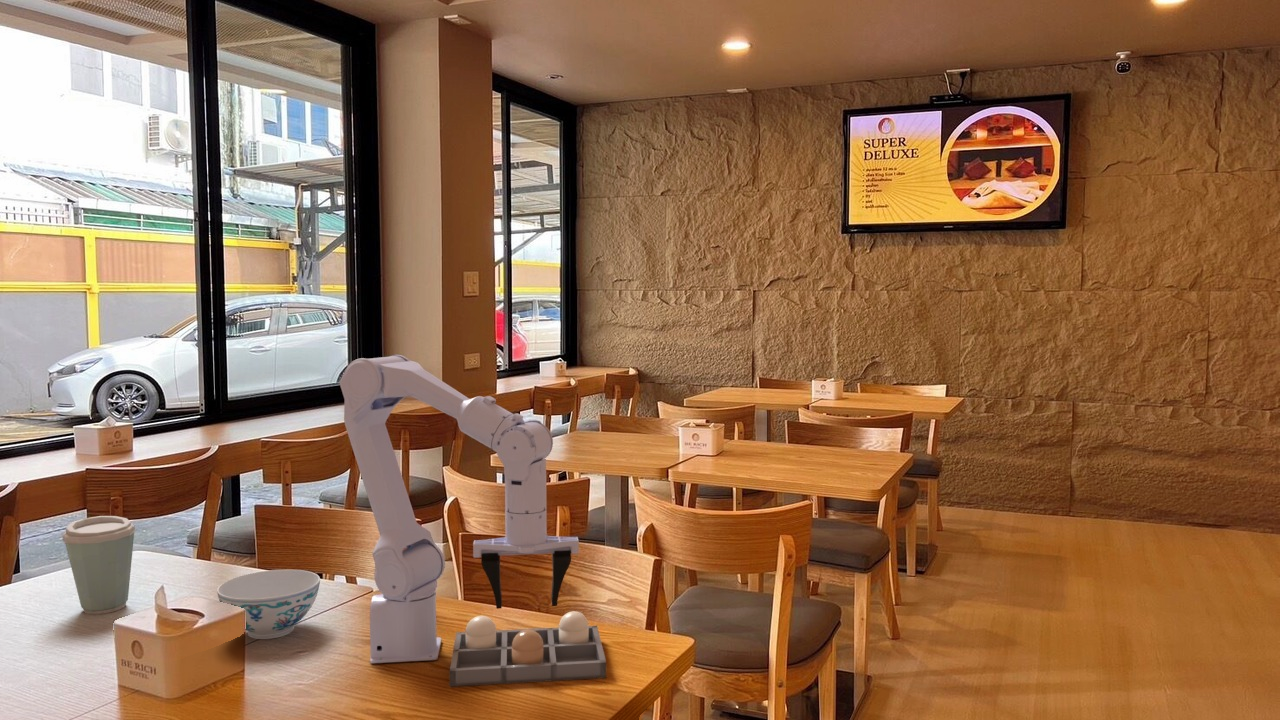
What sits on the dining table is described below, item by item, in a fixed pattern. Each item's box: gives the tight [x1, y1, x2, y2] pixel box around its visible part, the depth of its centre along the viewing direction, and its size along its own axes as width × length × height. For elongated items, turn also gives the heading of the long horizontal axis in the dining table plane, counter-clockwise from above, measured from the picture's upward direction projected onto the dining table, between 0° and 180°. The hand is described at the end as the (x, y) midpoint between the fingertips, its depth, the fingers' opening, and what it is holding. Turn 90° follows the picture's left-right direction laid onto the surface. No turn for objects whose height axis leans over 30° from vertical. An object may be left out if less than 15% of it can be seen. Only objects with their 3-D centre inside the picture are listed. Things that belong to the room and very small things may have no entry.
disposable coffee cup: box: [61, 515, 137, 615], centre depth 156 cm, size 11×11×15 cm
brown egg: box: [512, 630, 543, 665], centre depth 130 cm, size 4×4×5 cm
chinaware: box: [216, 569, 321, 640], centre depth 146 cm, size 15×15×8 cm
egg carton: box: [449, 610, 607, 688], centre depth 133 cm, size 21×14×6 cm
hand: (526, 605), depth 130 cm, fingers open, 7 cm apart
